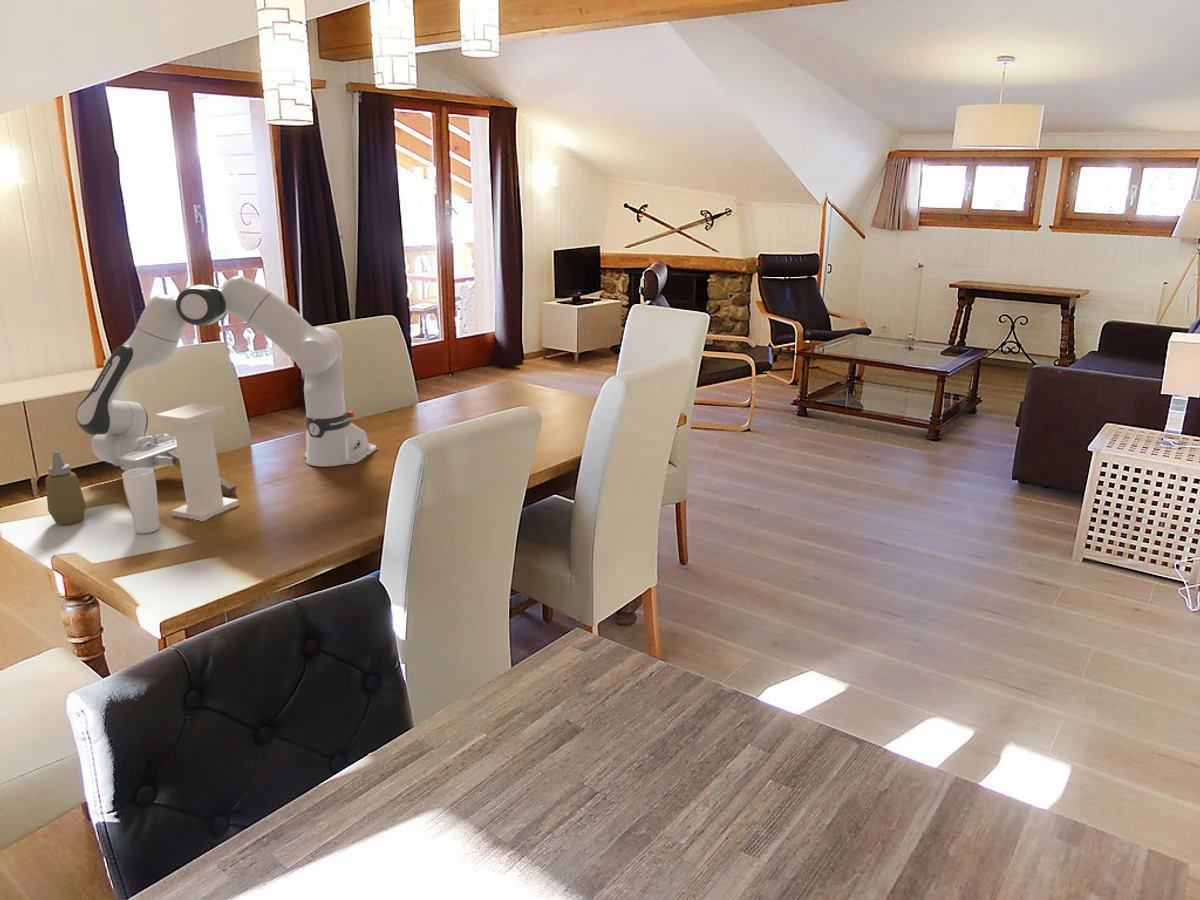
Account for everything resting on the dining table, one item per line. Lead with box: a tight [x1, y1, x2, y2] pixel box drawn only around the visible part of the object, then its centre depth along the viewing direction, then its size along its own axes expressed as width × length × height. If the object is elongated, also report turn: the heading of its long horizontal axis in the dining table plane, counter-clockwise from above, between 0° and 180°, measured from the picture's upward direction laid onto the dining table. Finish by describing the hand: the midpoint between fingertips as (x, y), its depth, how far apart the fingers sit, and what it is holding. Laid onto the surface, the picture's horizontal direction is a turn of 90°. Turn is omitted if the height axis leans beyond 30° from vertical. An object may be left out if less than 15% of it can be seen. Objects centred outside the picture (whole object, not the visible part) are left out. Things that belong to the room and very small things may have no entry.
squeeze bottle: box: [44, 451, 87, 526], centre depth 211 cm, size 8×8×18 cm
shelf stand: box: [155, 402, 240, 522], centre depth 216 cm, size 12×10×26 cm
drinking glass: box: [121, 467, 161, 535], centre depth 205 cm, size 7×7×15 cm
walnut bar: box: [167, 450, 237, 497], centre depth 232 cm, size 2×22×2 cm, turn 68°
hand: (179, 458), depth 234 cm, fingers closed on walnut bar, 2 cm apart
